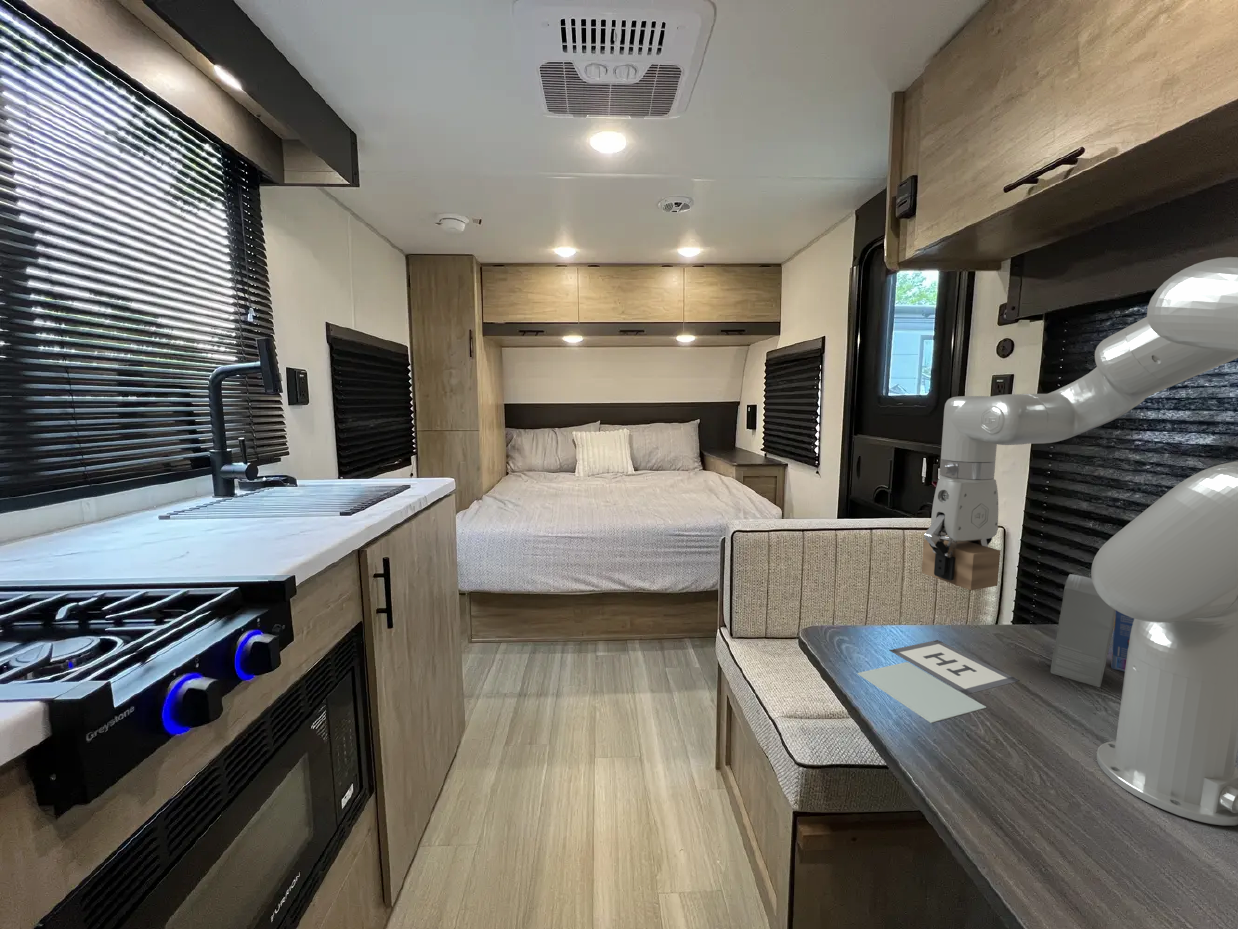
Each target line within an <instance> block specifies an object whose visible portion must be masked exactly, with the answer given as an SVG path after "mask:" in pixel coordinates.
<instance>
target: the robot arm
mask: <svg viewBox="0 0 1238 929" xmlns="http://www.w3.org/2000/svg"><path fill="white" fill-rule="evenodd" d="M1146 311H1147V312H1146V316H1145V317H1144V318H1142V319H1140V320H1138V321H1137V322H1136V321H1135V323H1132V324H1130V325H1128V326H1126V327H1125V328H1123V329H1121V330H1119V331H1117V332H1115V333H1114V334H1111V335H1109V336H1108V337H1106V338H1104V339H1102V340H1101V342H1099V344H1098V345H1097V346H1096V348H1095V350H1094V362H1095V365H1096V367H1095V368H1093V369H1092V370H1091V371H1090V372H1089V373H1087V374H1085V375H1083V376H1082V377H1080V378H1078V379H1076V380H1075V381H1073V382H1070V383H1069V384H1067V385H1064V386H1062V387H1060V388H1058V389H1056V390H1054V391H1051V392H1049V393H1018V394H1017V393H1016V394H1015V393H1014V394H1012V393H1010V394H1008V393H1007V394H999V395H992V396H989V395H987V396H985V395H963V396H962V395H961V396H960V395H959V396H958V395H957V396H953V397H950V398H948V399H947V400H946V402H945V403H944V409H943V423H942V424H943V425H942V436H941V452H940V464H939V466H940V467H939V478H938V479H937V483H936V487H935V491H934V497H933V502H932V509H931V515H930V516H931V518H930V526H929V527H928V528H927V529H926V531H925V533H924V535H923V537H924V540H927V541H928V543H929V544H930V546H931V547H932V549H933V553H935V566H934V575H935V576H938V577H941V578H943V579H946V580H949V581H950V580H953V579H954V568H955V557H952V555H953V552H954V550H955V547H956V544H957V542H967V541H968V542H971V543H975V544H979V545H982V546H986V547H989V544H990V543H991V542H992V539H993V537H995V536H997V534H998V529H999V493H998V485H997V480H996V479H995V472H996V471H995V470H996V459H997V447H998V445H1000V446H1017V445H1027V444H1030V445H1031V444H1052V443H1057V442H1060V441H1064V440H1068V439H1070V438H1073V437H1076V436H1078V435H1080V434H1083V433H1085V432H1088V431H1090V430H1093V429H1096V428H1098V427H1100V426H1103V425H1105V424H1107V423H1110V422H1112V421H1114V420H1117V419H1118V418H1120V417H1122V416H1123V415H1125V414H1126V413H1128V412H1129V411H1131V410H1132V409H1134V408H1135V407H1137V406H1139V405H1141V404H1142V403H1143V402H1144V401H1145V400H1146V399H1147V398H1148V397H1150V396H1152V395H1154V394H1158V393H1159V392H1161V391H1164V390H1166V389H1169V388H1171V387H1173V386H1175V385H1177V384H1180V383H1182V382H1185V381H1187V380H1189V379H1192V378H1194V377H1196V376H1199V375H1201V374H1203V373H1206V372H1209V371H1210V370H1212V369H1215V368H1217V367H1220V366H1222V365H1225V364H1228V363H1229V362H1232V361H1235V360H1237V359H1238V257H1237V256H1235V257H1233V256H1225V257H1218V258H1212V259H1209V260H1208V259H1207V260H1203V261H1200V262H1197V263H1194V264H1192V265H1191V266H1188V267H1185V268H1183V269H1182V270H1180V271H1179V272H1177V273H1175V274H1173V275H1171V277H1169V278H1168V279H1167V280H1165V281H1164V282H1163V283H1162V284H1161V285H1160V286H1159V287H1158V288H1157V289H1156V291H1155V292H1154V294H1153V295H1152V296H1151V298H1150V300H1149V303H1148V306H1147V310H1146ZM944 540H945V541H949V542H948V545H947V547H946V546H945V545H944ZM1090 573H1091V574H1090V575H1091V578H1092V581H1093V584H1094V587H1095V589H1096V591H1097V593H1098V594H1099V596H1100V597H1101V598H1102V600H1103V601H1104V602H1105V603H1107V604H1108V605H1109V606H1110V607H1112V608H1113V609H1114V610H1116V611H1118V612H1120V613H1122V614H1124V615H1126V616H1129V617H1131V618H1134V621H1133V625H1132V629H1131V634H1130V640H1129V647H1128V652H1127V660H1126V668H1125V672H1124V678H1123V684H1122V692H1121V701H1120V707H1119V708H1120V709H1119V715H1118V724H1117V731H1116V737H1115V738H1116V739H1115V740H1112V741H1107V742H1104V743H1102V744H1100V746H1098V747H1097V751H1096V762H1097V763H1098V766H1099V768H1101V770H1102V771H1103V773H1104V774H1105V775H1106V776H1108V777H1109V778H1110V780H1112V781H1113V782H1114V783H1115V784H1117V785H1118V786H1120V787H1121V788H1123V790H1125V791H1127V792H1129V793H1130V794H1132V795H1133V796H1135V797H1137V798H1138V799H1140V800H1142V801H1144V802H1147V803H1148V804H1150V805H1152V806H1155V807H1157V808H1159V809H1161V810H1164V811H1166V812H1169V813H1171V814H1174V815H1176V816H1179V817H1181V818H1186V819H1189V820H1193V821H1196V822H1200V823H1204V824H1209V825H1218V826H1238V767H1236V763H1237V755H1238V461H1232V462H1227V463H1221V464H1217V465H1214V466H1210V467H1209V468H1206V469H1203V470H1201V471H1199V472H1196V473H1195V474H1193V475H1191V476H1189V477H1187V478H1186V479H1184V480H1182V481H1181V482H1179V483H1178V484H1176V485H1175V486H1174V487H1173V488H1171V489H1170V490H1168V491H1167V492H1166V493H1165V494H1163V495H1162V496H1161V497H1160V498H1158V499H1157V500H1156V501H1155V502H1154V503H1153V504H1151V505H1150V506H1148V508H1146V509H1145V510H1143V511H1142V512H1141V513H1140V514H1138V515H1137V516H1136V517H1135V518H1134V519H1133V520H1131V521H1130V522H1129V523H1127V524H1126V525H1125V526H1124V527H1122V529H1120V530H1119V531H1118V532H1116V533H1115V534H1114V535H1113V536H1111V537H1110V538H1109V539H1108V540H1107V541H1106V542H1105V543H1104V544H1102V545H1101V547H1100V548H1099V550H1098V551H1097V552H1096V554H1095V556H1094V559H1093V561H1092V564H1091V570H1090Z"/></svg>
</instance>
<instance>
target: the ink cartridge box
mask: <svg viewBox="0 0 1238 929" xmlns="http://www.w3.org/2000/svg"><path fill="white" fill-rule="evenodd" d="M1133 621H1134V618H1131V617H1129V616H1126V615H1124V614H1122V613H1120V612H1118V611H1116V613H1115V621H1114V628H1113V633H1112V646H1111V663H1110V667H1111V669H1113V670H1117V671H1119V672H1124V673H1125V668H1126V660H1127V652H1128V647H1129V640H1130V634H1131V629H1132V625H1133Z"/></svg>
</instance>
